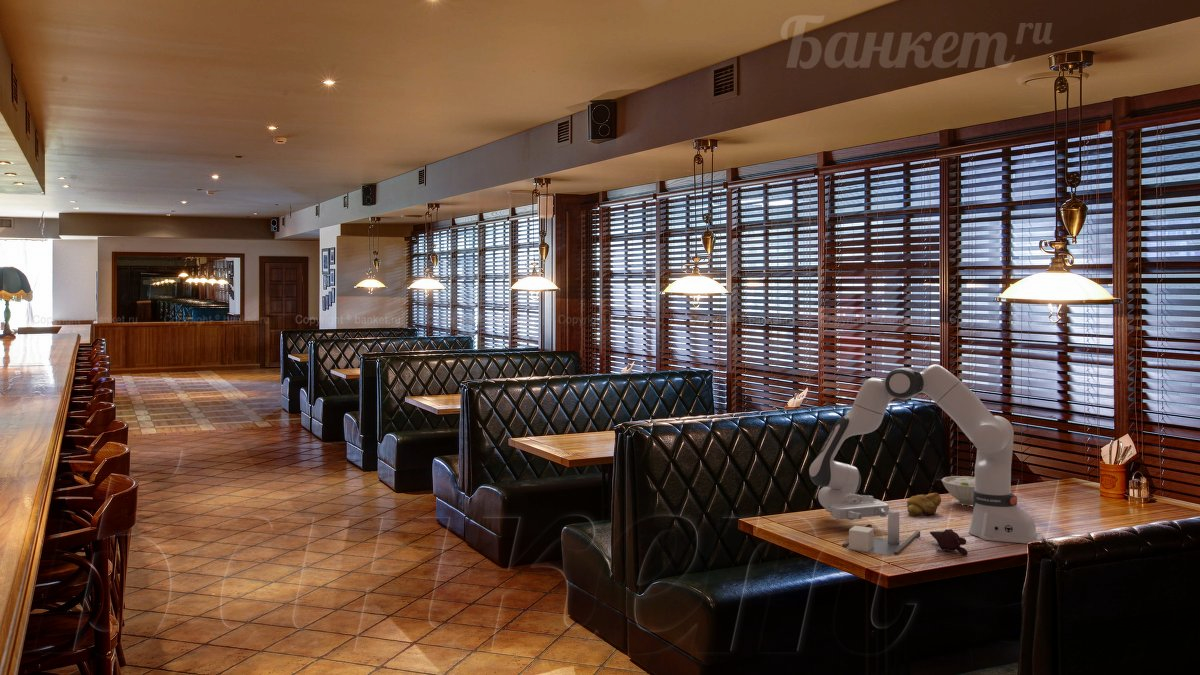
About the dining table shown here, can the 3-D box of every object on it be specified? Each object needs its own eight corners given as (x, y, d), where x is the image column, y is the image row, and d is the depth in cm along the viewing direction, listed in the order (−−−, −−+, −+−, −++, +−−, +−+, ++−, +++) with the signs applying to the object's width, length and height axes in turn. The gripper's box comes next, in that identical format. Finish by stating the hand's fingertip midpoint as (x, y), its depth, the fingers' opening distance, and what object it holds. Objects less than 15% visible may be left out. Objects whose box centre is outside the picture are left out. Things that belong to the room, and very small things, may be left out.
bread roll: (917, 518, 323) (917, 496, 323) (897, 512, 332) (897, 491, 331) (943, 514, 328) (944, 492, 328) (923, 509, 337) (924, 487, 337)
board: (905, 545, 289) (905, 511, 288) (890, 558, 274) (890, 523, 274) (861, 538, 297) (861, 505, 296) (845, 552, 282) (845, 517, 281)
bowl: (1007, 508, 336) (1007, 482, 335) (960, 511, 332) (960, 484, 331) (975, 497, 355) (975, 472, 354) (931, 500, 351) (931, 474, 350)
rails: (920, 537, 299) (920, 531, 299) (897, 558, 275) (897, 552, 275) (868, 530, 308) (868, 524, 308) (842, 550, 285) (842, 543, 285)
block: (873, 546, 284) (873, 528, 283) (868, 551, 279) (868, 532, 278) (854, 544, 287) (854, 525, 287) (848, 548, 282) (848, 529, 282)
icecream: (920, 526, 288) (956, 542, 275) (937, 518, 291) (974, 533, 277) (922, 546, 290) (958, 562, 276) (940, 537, 292) (976, 553, 279)
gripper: (822, 499, 310) (844, 508, 296) (875, 495, 315) (898, 503, 302) (822, 517, 310) (844, 527, 297) (874, 512, 316) (898, 522, 302)
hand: (872, 515), depth 299 cm, fingers open, 8 cm apart
